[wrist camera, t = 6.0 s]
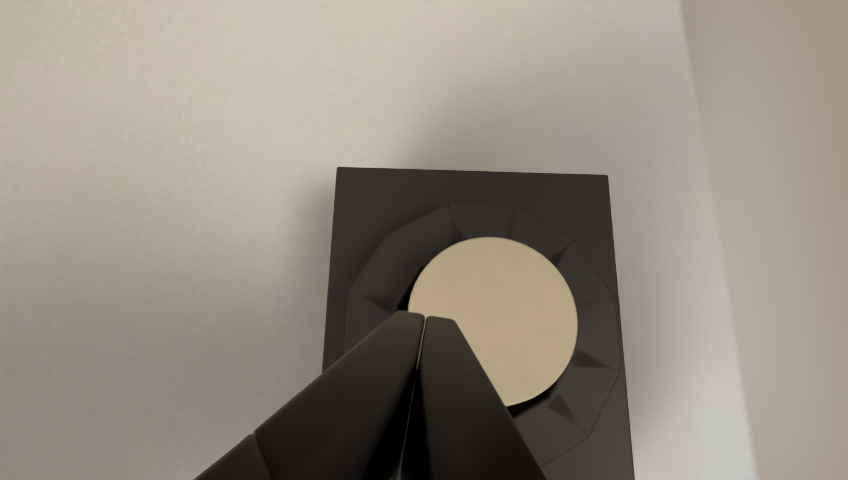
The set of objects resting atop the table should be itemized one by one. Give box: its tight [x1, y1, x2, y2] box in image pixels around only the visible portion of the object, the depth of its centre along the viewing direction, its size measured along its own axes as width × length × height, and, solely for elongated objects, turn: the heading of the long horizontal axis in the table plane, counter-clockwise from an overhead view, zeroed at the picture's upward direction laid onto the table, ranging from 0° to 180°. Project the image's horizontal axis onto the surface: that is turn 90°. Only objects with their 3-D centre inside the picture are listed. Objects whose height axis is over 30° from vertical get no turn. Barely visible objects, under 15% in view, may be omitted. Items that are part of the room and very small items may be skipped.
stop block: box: [322, 167, 635, 480], centre depth 17 cm, size 10×8×6 cm
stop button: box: [408, 237, 578, 406], centre depth 13 cm, size 4×4×2 cm
